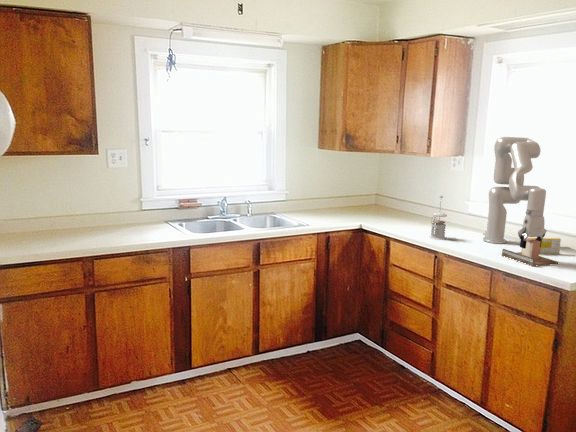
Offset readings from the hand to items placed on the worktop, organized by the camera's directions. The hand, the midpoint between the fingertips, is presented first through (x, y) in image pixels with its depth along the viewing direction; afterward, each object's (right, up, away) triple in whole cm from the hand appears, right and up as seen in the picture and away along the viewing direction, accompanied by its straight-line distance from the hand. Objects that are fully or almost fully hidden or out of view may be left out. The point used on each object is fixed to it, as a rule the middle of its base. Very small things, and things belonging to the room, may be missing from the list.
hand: (530, 247), depth 250 cm
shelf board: (0, -6, +1) cm, 6 cm away
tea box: (0, -5, +1) cm, 5 cm away
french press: (-33, +3, +45) cm, 56 cm away
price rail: (-7, -5, -2) cm, 9 cm away
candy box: (+14, -5, +16) cm, 22 cm away
